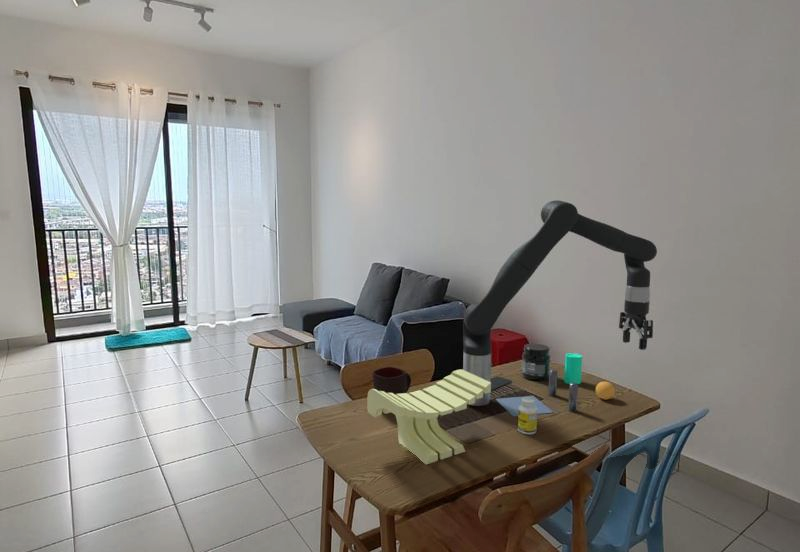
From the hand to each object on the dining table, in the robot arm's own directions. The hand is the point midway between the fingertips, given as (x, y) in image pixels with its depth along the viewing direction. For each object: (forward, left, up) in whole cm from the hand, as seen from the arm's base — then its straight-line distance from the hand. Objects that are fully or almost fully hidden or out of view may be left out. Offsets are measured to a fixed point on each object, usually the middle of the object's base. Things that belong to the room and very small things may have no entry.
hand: (634, 345), depth 167 cm
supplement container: (-23, +26, -19) cm, 39 cm away
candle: (-12, +18, -19) cm, 28 cm away
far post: (-26, +7, -19) cm, 32 cm away
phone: (-42, +22, -19) cm, 51 cm away
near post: (-26, -6, -19) cm, 32 cm away
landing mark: (-40, +1, -19) cm, 44 cm away
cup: (-82, +10, -19) cm, 84 cm away
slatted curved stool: (-77, -19, -19) cm, 82 cm away
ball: (-10, +1, -16) cm, 18 cm away
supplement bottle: (-47, -16, -19) cm, 53 cm away
